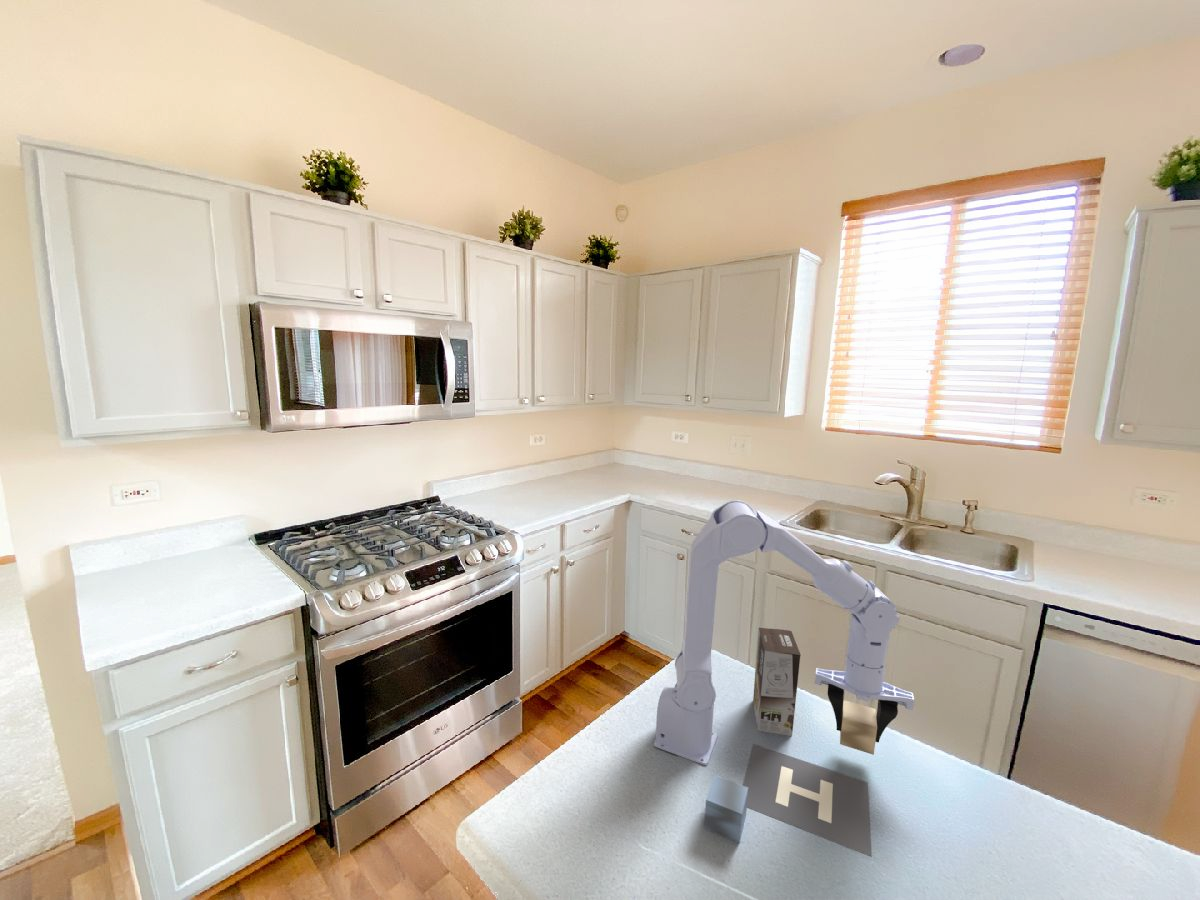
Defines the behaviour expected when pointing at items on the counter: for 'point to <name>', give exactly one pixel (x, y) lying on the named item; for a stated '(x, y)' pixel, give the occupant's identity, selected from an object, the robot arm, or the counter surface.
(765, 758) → the letter mat
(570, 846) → the counter surface
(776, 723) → the coffee box
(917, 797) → the counter surface
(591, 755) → the counter surface
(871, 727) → the oak block
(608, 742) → the counter surface
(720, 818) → the slate blue cube
